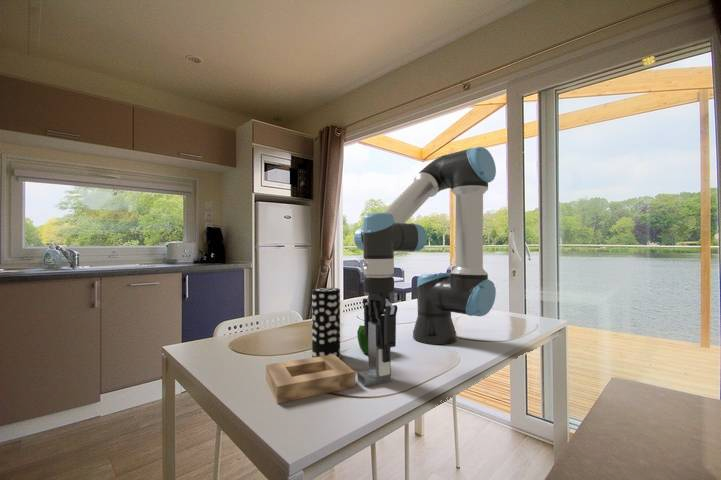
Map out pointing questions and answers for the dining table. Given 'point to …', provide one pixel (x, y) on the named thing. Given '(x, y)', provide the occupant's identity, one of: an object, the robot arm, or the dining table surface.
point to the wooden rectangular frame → (308, 377)
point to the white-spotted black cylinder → (325, 322)
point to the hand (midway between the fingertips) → (379, 371)
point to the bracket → (373, 359)
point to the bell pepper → (362, 339)
